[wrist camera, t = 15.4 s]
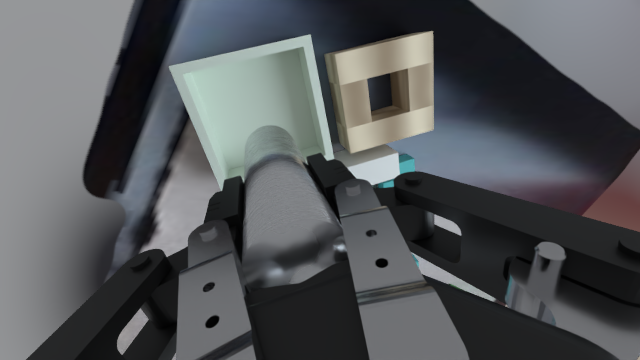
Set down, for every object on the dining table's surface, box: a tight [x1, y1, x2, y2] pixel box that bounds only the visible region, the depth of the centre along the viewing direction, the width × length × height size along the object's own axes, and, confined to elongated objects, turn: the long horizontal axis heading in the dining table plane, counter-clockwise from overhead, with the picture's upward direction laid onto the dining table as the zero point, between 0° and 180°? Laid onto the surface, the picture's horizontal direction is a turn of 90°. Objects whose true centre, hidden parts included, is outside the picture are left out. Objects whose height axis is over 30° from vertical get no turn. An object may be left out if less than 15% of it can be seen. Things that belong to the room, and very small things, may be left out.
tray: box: [168, 35, 334, 191], centre depth 27 cm, size 12×12×4 cm
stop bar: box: [333, 144, 400, 185], centre depth 32 cm, size 14×3×5 cm, turn 101°
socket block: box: [324, 31, 434, 153], centre depth 30 cm, size 10×10×4 cm
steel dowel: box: [242, 125, 348, 292], centre depth 13 cm, size 3×3×11 cm
